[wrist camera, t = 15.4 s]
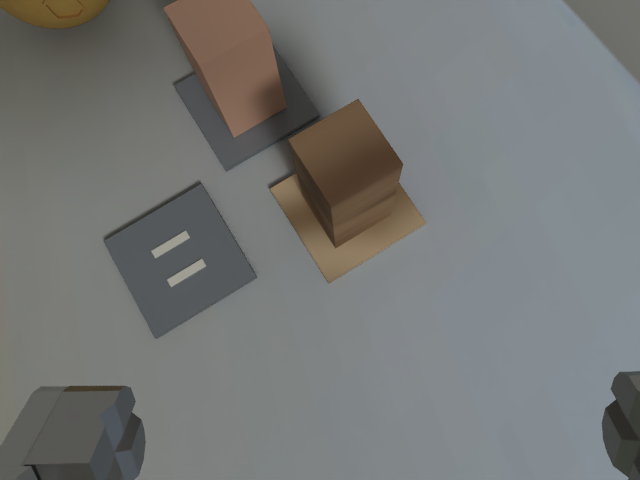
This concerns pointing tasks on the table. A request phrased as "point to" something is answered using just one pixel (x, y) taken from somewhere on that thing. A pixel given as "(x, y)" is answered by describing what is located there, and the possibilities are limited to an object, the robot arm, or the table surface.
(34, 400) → the robot arm
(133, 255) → the slate tile
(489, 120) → the table surface
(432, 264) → the table surface
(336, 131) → the walnut pillar
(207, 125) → the slate tile
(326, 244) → the cork pad
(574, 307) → the table surface
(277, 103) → the terracotta pillar
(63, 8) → the stress ball
